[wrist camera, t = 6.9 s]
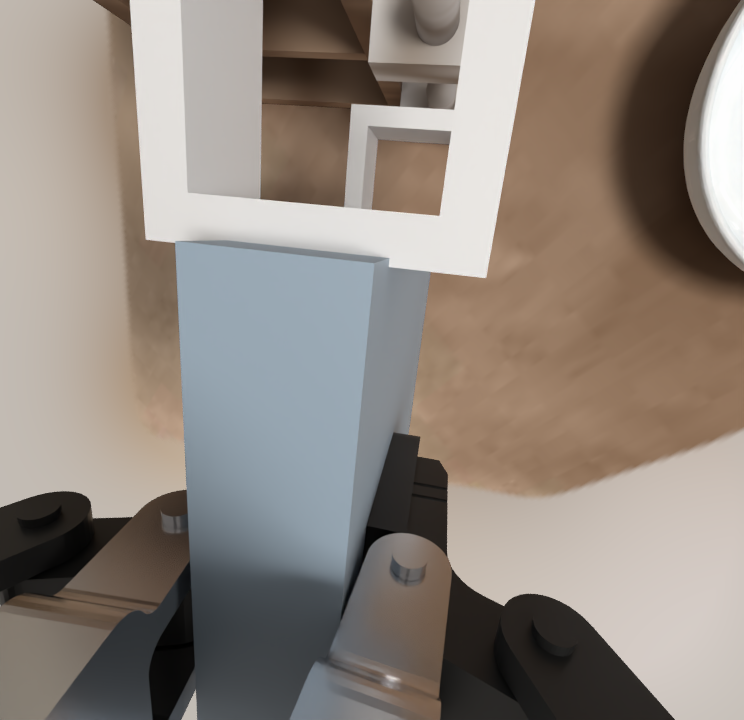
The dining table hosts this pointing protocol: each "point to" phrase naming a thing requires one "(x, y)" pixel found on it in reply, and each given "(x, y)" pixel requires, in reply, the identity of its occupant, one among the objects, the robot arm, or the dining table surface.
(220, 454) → the cabinet door
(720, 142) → the serving bowl
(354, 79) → the cabinet
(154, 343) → the dining table surface
